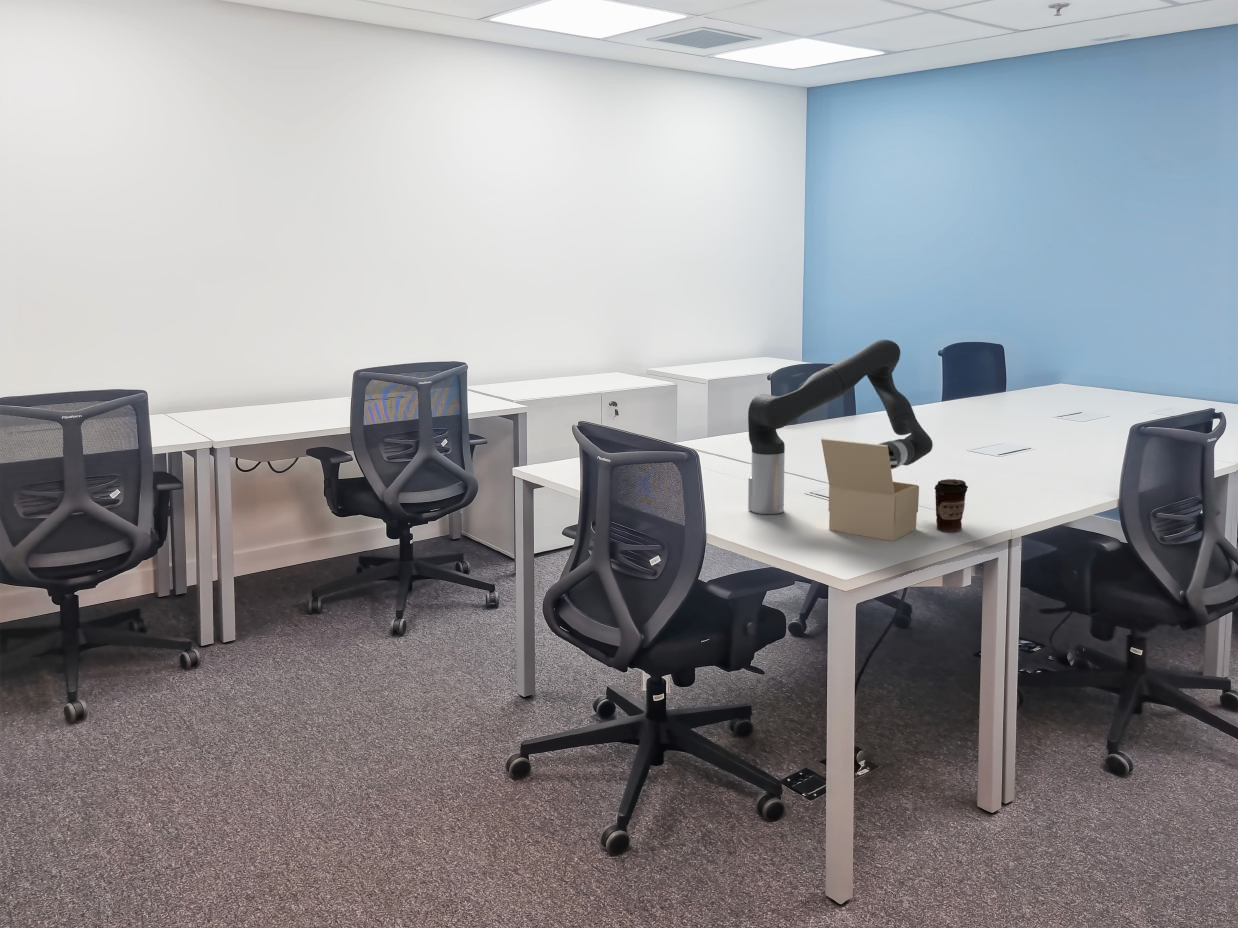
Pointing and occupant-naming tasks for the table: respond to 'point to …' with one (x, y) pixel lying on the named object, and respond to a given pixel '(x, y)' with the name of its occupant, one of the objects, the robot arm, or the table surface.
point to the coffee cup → (950, 504)
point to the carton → (874, 511)
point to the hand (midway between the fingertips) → (859, 464)
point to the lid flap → (858, 466)
